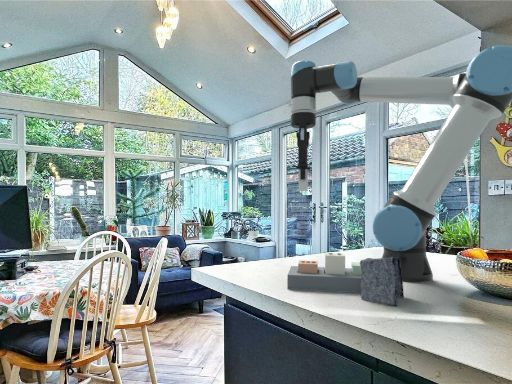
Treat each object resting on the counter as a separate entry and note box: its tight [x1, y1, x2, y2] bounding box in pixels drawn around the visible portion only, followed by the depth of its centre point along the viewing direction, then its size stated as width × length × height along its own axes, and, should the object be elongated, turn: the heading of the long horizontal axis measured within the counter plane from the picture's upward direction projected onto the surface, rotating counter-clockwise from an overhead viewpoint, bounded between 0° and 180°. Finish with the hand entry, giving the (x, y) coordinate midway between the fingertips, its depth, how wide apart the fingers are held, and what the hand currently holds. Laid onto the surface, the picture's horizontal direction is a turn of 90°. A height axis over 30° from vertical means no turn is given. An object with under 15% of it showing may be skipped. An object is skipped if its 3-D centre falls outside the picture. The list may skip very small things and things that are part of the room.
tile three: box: [297, 259, 319, 274], centre depth 93 cm, size 5×5×5 cm
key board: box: [286, 265, 362, 294], centre depth 92 cm, size 24×12×4 cm, turn 80°
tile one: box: [351, 261, 362, 275], centre depth 90 cm, size 5×5×5 cm
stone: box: [359, 257, 405, 307], centre depth 80 cm, size 12×10×10 cm
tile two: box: [324, 252, 346, 275], centre depth 92 cm, size 5×5×5 cm
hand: (303, 190), depth 106 cm, fingers closed
